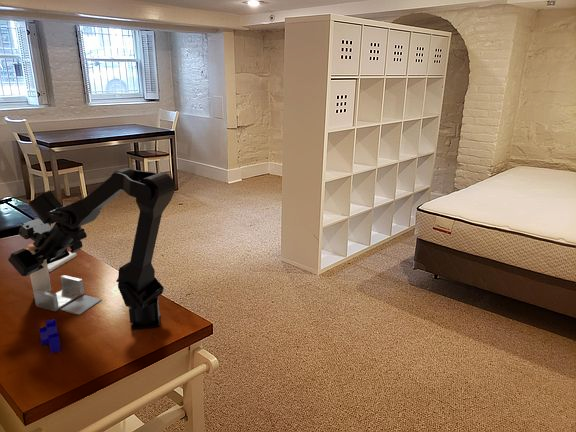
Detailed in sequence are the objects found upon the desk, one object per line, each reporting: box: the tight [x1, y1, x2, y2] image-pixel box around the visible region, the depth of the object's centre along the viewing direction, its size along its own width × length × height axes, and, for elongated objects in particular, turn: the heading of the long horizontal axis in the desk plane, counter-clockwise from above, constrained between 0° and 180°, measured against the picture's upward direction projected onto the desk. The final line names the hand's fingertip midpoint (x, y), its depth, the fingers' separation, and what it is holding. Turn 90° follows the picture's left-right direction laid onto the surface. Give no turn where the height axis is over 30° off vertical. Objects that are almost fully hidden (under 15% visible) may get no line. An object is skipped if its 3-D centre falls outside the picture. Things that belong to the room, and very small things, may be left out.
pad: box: [60, 294, 102, 316], centre depth 115 cm, size 6×8×1 cm
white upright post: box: [26, 243, 52, 294], centre depth 116 cm, size 4×4×14 cm
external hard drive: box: [47, 251, 78, 273], centre depth 138 cm, size 2×8×12 cm
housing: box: [32, 274, 85, 312], centre depth 116 cm, size 6×10×4 cm, turn 161°
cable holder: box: [38, 318, 62, 354], centre depth 98 cm, size 8×4×4 cm, turn 32°
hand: (34, 267), depth 116 cm, fingers closed on white upright post, 4 cm apart
